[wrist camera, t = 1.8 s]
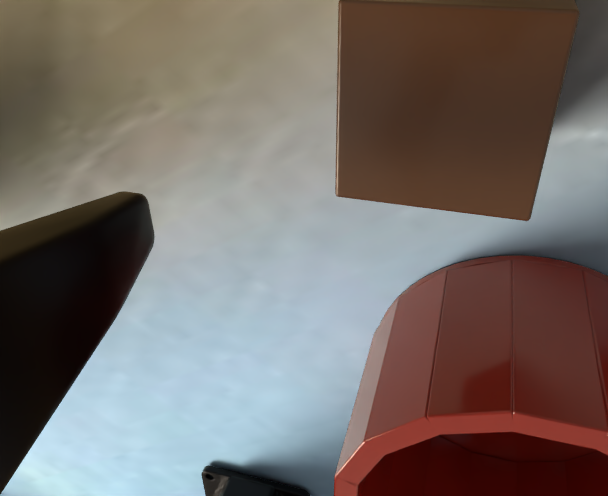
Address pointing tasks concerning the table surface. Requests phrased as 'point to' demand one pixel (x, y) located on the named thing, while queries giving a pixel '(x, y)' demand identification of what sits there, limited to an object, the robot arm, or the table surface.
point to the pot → (485, 386)
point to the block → (449, 100)
